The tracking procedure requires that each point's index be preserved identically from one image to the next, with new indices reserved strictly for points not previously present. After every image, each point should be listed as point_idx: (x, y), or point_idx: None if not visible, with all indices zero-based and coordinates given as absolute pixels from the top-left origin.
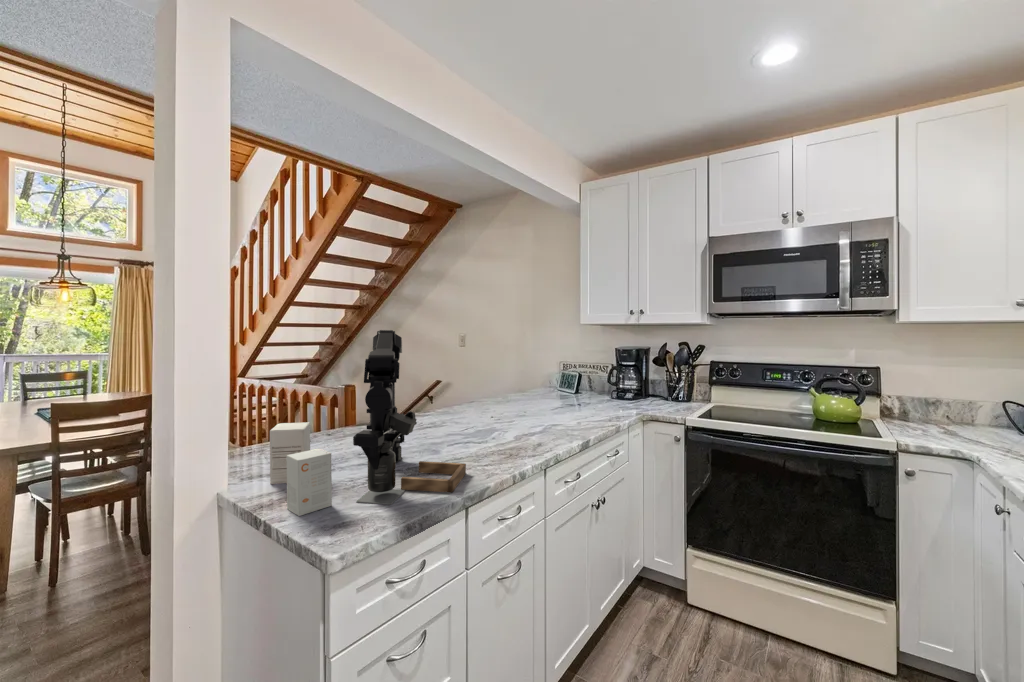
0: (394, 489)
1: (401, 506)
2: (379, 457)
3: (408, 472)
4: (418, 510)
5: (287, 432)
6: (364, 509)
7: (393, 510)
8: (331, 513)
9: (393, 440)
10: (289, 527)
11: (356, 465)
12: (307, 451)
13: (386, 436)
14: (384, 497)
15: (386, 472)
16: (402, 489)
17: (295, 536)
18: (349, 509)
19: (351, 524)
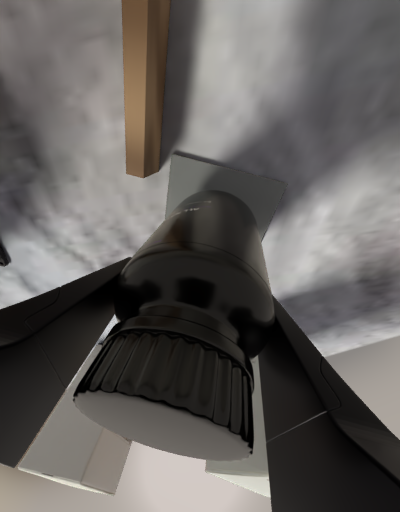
0: (169, 192)
1: (312, 142)
2: (293, 341)
3: (16, 169)
4: (393, 43)
5: (102, 480)
6: (296, 250)
7: (339, 167)
8: (295, 304)
9: (21, 338)
10: (336, 346)
11: (38, 293)
12: (241, 485)
13: (10, 411)
14: None
15: (259, 246)
16: (158, 166)
17: (386, 337)
18: (284, 279)
19: (386, 265)
